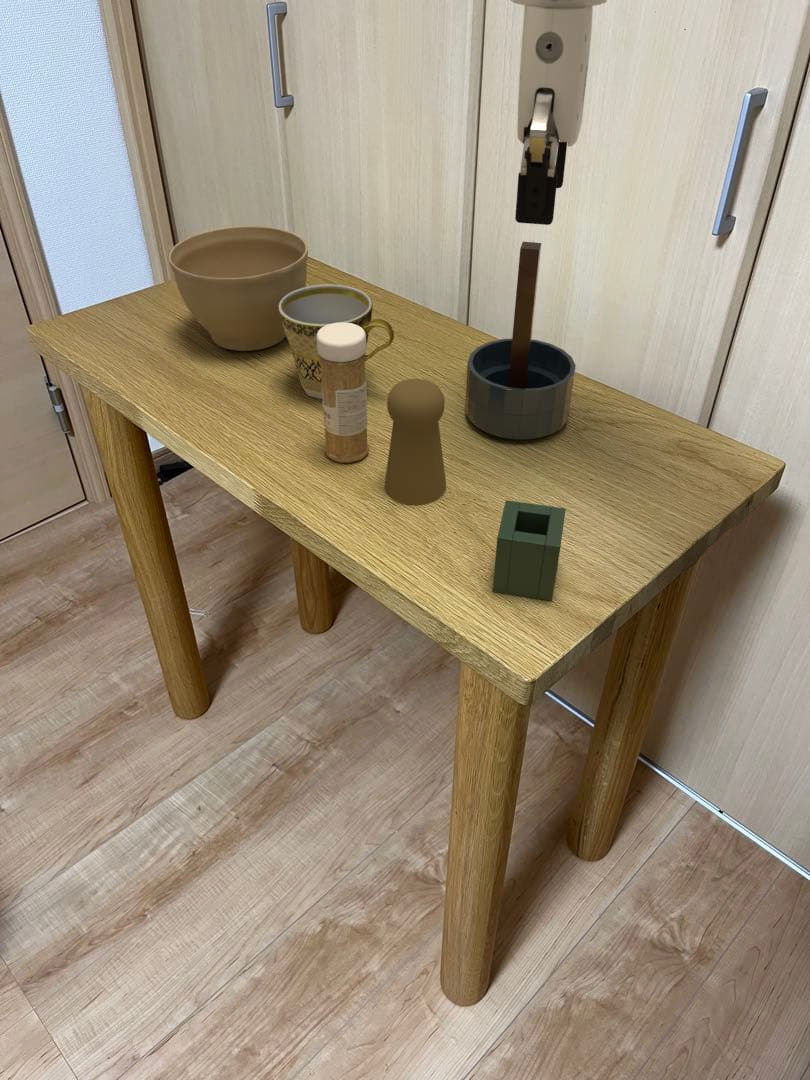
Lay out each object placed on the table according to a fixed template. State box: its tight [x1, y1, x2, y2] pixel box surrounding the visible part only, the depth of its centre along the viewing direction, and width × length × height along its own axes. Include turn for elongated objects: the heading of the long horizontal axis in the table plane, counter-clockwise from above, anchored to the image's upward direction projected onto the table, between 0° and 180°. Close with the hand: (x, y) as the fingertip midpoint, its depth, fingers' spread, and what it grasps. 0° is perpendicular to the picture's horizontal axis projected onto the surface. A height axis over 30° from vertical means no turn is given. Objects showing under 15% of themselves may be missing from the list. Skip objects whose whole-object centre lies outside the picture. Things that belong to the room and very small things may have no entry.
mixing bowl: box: [464, 338, 577, 441], centre depth 90 cm, size 11×11×6 cm
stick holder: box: [491, 499, 566, 602], centre depth 71 cm, size 5×5×6 cm
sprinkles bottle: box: [317, 322, 370, 464], centre depth 82 cm, size 5×5×14 cm
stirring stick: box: [508, 241, 542, 389], centre depth 85 cm, size 2×2×18 cm
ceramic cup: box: [279, 283, 395, 400], centre depth 93 cm, size 13×10×10 cm
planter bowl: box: [168, 225, 309, 352], centre depth 103 cm, size 16×16×11 cm
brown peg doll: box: [383, 378, 447, 506], centre depth 79 cm, size 6×6×11 cm
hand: (539, 203), depth 77 cm, fingers open, 9 cm apart
